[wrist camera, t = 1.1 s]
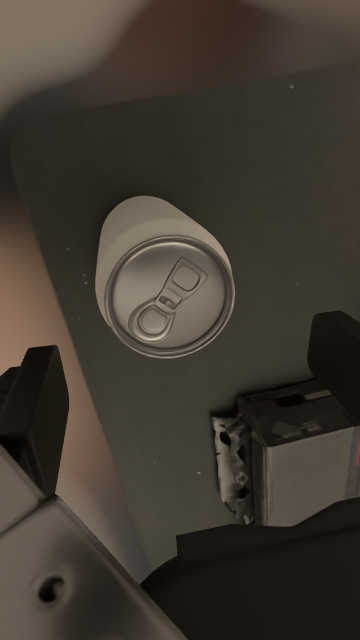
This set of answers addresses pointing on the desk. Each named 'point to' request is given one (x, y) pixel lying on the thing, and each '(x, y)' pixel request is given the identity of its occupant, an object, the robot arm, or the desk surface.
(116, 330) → the can
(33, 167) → the desk surface
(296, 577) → the robot arm
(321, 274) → the desk surface
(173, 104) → the desk surface
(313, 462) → the vintage computer
